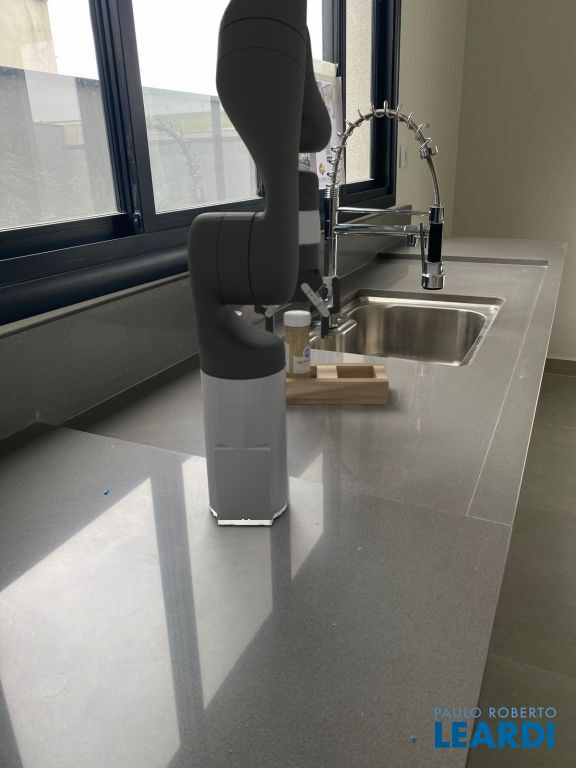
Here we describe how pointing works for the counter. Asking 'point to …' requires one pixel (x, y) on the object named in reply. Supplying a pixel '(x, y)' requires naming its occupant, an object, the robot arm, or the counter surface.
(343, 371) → the rack
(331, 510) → the counter surface
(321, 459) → the counter surface
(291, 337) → the sprinkles bottle
